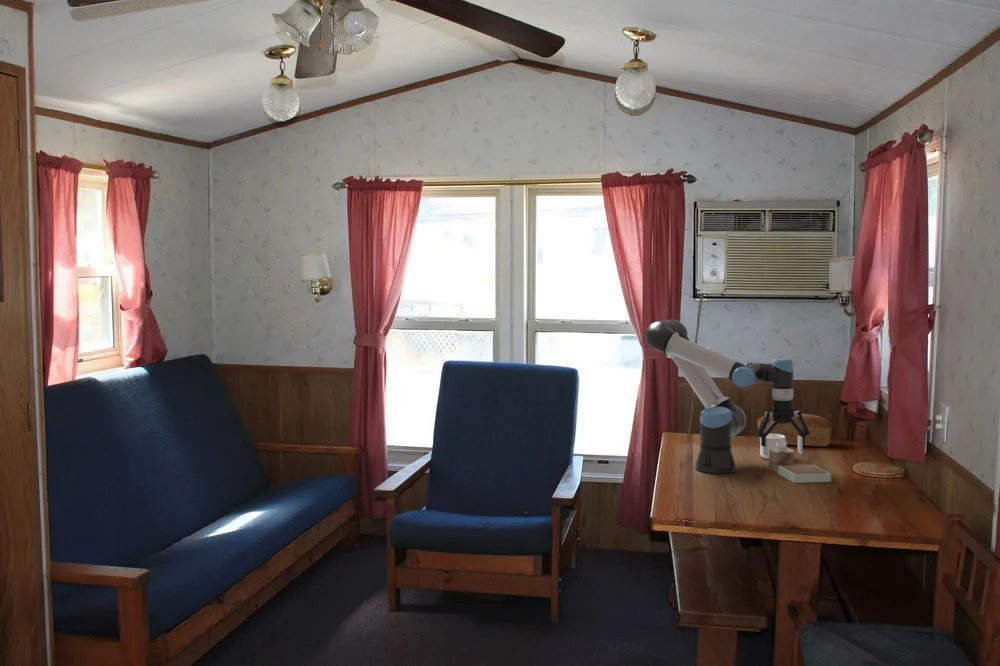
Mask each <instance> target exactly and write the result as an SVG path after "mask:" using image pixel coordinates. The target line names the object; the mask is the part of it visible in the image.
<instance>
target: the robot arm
mask: <svg viewBox="0 0 1000 666" xmlns="http://www.w3.org/2000/svg"><path fill="white" fill-rule="evenodd" d="M644 336H645V342H646V343H647V345H648V346H649V347H650V348H652V349H653V350H655V351H657V352H659V353H662V354H664V355H665V357H666V358H668V359H672V361H673V362H674V364H675V365H676V367H677V368H678V370H679V371H680V372H681V373H682V376H683V377H684V379H685V380H686V381H687V383H688V384H689V386H690V387H691V389H692V391H693V392H694V393H695V394H696V396H697V398H698V399H699V401H700V402H701V404H702V405H703V407H704V409H702V410H701V412H700V416H699V425H700V426H699V427H700V428H699V430H700V432H699V433H700V434H699V436H700V437H699V439H700V441H699V442H700V443H699V446H700V447H699V451H698V454H697V456H696V460H695V466H694V468H696V469H697V470H696V469H695V470H696V471H698V470H699V472H701V471H702V473H705V472H707V474H714V473H716V474H719V475H720V474H724V475H725V474H733V473H734V472H736V471H737V468H736V467H737V466H736V465H737V464H736V460H735V459H734V458H735V457H734V455H733V451H732V437H735V436H737V435H739V434H740V433H741V432H742V431H743V430H744V429H745V427H746V425H747V416H746V413H745V412H744V410H743V409H742V408H741V407H739V406H737V405H735V404H734V402H733V401H732V400H731V398H730V397H729V396H728V397H727V396H724V394H723V393H722V391H721V390H720V389H719V388H718V386H717V385H716V382H715V381H714V380H713V379H712V377H711V376H710V374H709V373H708V371H710V372H711V373H714V374H715V375H717V376H720V377H723V378H725V379H727V380H729V381H731V382H733V384H734V385H735V386H737V387H739V388H748V387H751V386H753V385H755V384H759V383H761V384H763V383H764V384H765V383H766V384H772V412H768V411H764V413H763V416H764V418H763V420H762V422H761V424H760V427H759V429H758V428H757V430H756V433H755V435H756V436H757V437H758V438H759V437H761V446H763V454H764V455H768V438H766V437H767V436H768V434H769V433H770V432H771V431H772V429H773V428H774V427H775V426H776V425H777V424H778V423H779V424H782V423H790V424H791V425H792V427H793V428H794V429H795V430H796V431H797V432H798V434H799V435H800V436H798V445H797V454H799V455H803V448H804V447H803V446H805V445H804V444H805V437H806V435H809V434H810V432H809V430H808V428H807V426H806V424H805V422H804V420H803V418H802V414H803V413H802V411H801V410H796V411H794V400H793V398H794V372H795V371H794V363H793V361H794V360H792V359H791V358H786V357H785V358H773V359H772V362H771V363H762V362H743V363H741V362H740V361H737V360H734V359H733V358H730V357H728V356H726V355H724V354H721V353H719V352H716V351H715V350H712V349H709V348H707V347H705V346H703V345H700V344H699V343H695V342H693V341H691V340H690V338H689V337H688V330H687V328H686V326H685V325H684V324H683V323H682V321H681V322H680V321H679V320H676V319H664V320H657V321H654V322H652V323H650V325H648V326H647V328H646V330H645V334H644ZM794 415H795V417H797V420H798V422H799V424H800V426H801V428H802V430H803V431H802V430H801V429H800V428H799V427H798V426H797V424H796V423H795V422H794V420H793V419H792V418H793V416H794ZM771 416H772V417H773V419H772V421H771V423H770V424H769V425H768V426H767V428H766V429H765V427H766V425H767V423H768V421H769V418H771ZM764 429H765V430H764Z"/></svg>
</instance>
